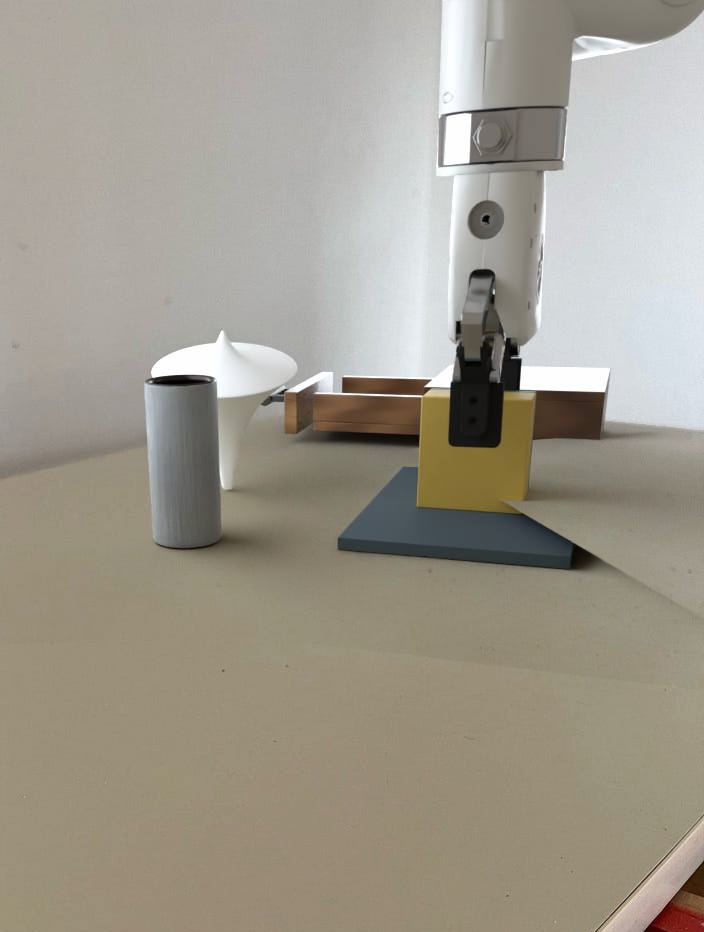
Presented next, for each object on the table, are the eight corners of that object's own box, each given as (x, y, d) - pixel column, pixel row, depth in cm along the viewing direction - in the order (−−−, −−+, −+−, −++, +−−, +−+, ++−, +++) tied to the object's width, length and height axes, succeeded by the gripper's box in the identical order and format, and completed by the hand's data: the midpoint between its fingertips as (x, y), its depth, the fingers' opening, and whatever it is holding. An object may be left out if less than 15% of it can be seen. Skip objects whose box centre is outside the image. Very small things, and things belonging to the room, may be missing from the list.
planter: (221, 548, 66) (216, 384, 62) (150, 550, 66) (140, 386, 62) (222, 528, 70) (217, 373, 66) (155, 529, 70) (146, 375, 66)
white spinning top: (300, 505, 74) (300, 334, 70) (152, 508, 75) (142, 338, 70) (294, 472, 84) (294, 319, 79) (163, 475, 84) (155, 323, 80)
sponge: (416, 507, 70) (421, 396, 67) (426, 494, 73) (431, 388, 70) (521, 514, 68) (531, 400, 65) (527, 501, 71) (537, 391, 68)
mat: (402, 476, 82) (403, 466, 82) (587, 486, 77) (588, 476, 77) (337, 549, 65) (337, 537, 64) (569, 569, 60) (571, 556, 60)
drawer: (244, 431, 96) (243, 390, 94) (285, 408, 106) (284, 370, 105) (431, 440, 90) (433, 396, 88) (454, 415, 100) (457, 375, 99)
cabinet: (420, 452, 90) (423, 386, 88) (447, 422, 101) (450, 364, 99) (597, 460, 85) (605, 392, 83) (603, 429, 96) (610, 368, 94)
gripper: (553, 138, 53) (529, 462, 60) (574, 148, 68) (553, 407, 75) (409, 147, 56) (402, 457, 63) (460, 155, 71) (450, 405, 78)
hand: (484, 430), depth 69 cm, fingers open, 9 cm apart
